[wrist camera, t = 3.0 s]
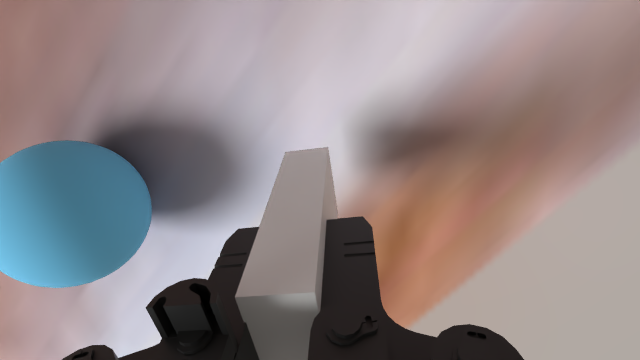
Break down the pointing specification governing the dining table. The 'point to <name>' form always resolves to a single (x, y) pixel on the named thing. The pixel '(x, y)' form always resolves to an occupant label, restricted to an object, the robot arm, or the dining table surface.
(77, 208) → the ball
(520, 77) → the dining table surface
